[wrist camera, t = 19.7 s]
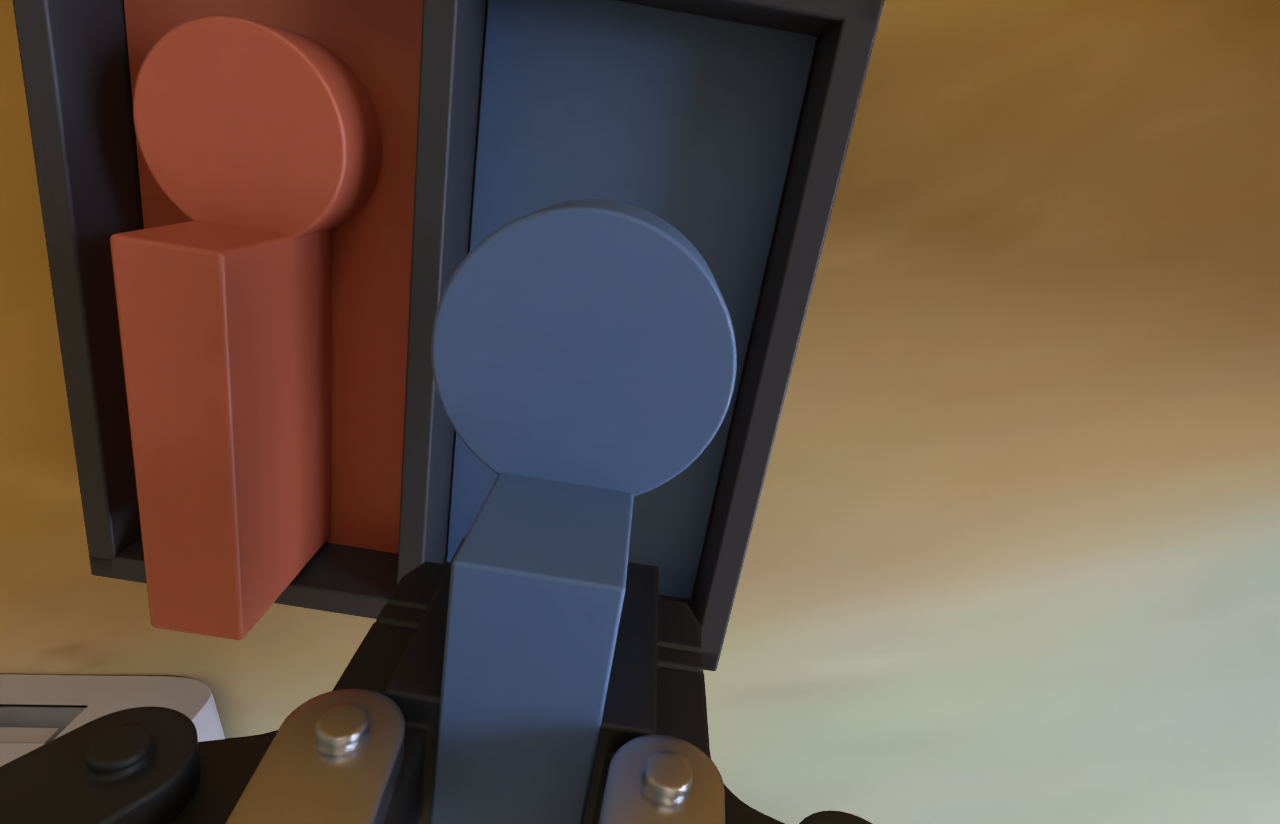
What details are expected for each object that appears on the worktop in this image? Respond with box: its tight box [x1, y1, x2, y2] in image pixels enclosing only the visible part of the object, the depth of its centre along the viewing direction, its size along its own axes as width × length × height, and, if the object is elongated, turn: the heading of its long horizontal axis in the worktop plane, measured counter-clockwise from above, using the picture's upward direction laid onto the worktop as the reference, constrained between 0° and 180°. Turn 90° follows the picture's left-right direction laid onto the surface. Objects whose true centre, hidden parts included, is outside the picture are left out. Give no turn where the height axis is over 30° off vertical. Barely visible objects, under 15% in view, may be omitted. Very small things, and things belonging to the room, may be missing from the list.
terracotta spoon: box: [110, 15, 382, 640], centre depth 14 cm, size 4×11×4 cm, turn 171°
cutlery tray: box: [13, 0, 884, 671], centre depth 15 cm, size 14×14×2 cm
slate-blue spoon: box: [430, 199, 737, 824], centre depth 10 cm, size 4×11×4 cm, turn 171°
